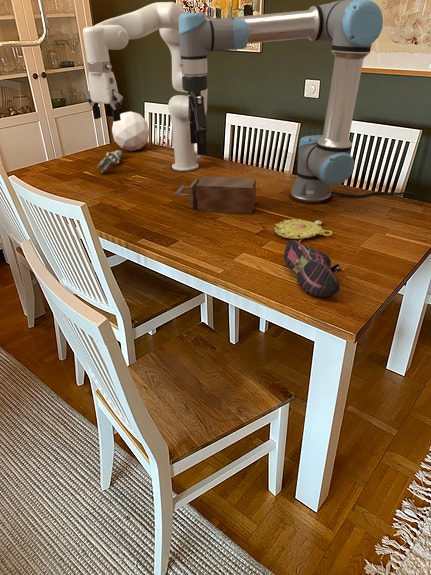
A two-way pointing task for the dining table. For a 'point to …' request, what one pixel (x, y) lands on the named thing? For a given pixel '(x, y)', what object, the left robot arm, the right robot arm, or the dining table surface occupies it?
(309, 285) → the athletic shoe
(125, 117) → the sphere
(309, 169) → the right robot arm
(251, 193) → the dark brown low box
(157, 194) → the dining table surface
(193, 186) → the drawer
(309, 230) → the decorative object
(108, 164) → the figurine
